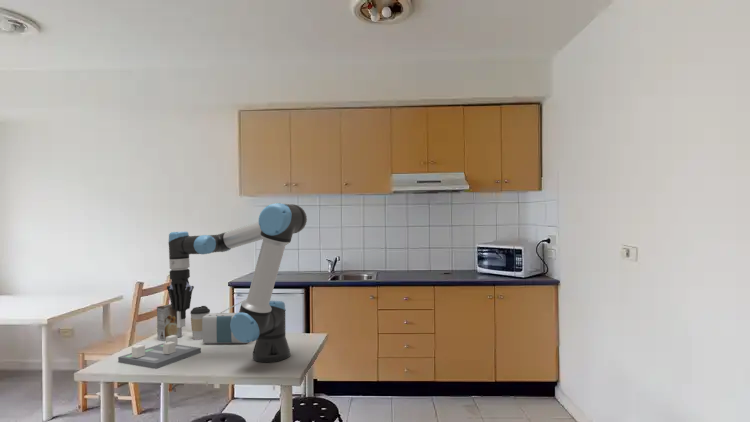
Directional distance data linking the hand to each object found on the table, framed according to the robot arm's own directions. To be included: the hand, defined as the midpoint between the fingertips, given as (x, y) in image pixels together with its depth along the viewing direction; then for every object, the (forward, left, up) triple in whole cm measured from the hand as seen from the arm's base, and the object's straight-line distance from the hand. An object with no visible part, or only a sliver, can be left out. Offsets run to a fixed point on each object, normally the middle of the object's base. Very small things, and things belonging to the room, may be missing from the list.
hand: (181, 326), depth 176 cm
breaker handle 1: (+15, +8, -11) cm, 20 cm away
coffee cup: (+20, -29, -14) cm, 38 cm away
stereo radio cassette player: (+1, -27, -14) cm, 31 cm away
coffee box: (+34, -23, -14) cm, 43 cm away
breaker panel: (+12, 0, -14) cm, 18 cm away
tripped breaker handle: (+7, 0, -11) cm, 13 cm away
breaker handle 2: (+15, -8, -11) cm, 20 cm away
